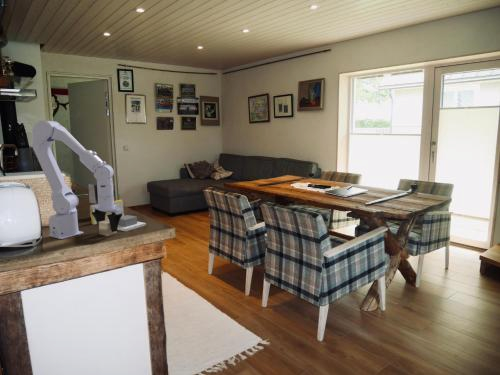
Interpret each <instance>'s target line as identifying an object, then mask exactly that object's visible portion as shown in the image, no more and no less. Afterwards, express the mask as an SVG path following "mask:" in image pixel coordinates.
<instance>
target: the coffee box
mask: <svg viewBox="0 0 500 375" xmlns="http://www.w3.org/2000/svg"><path fill="white" fill-rule="evenodd" d="M88 197H89V198H88V200H89V201H88V202H89V207H90V206H93V205H98V191H97V182H93V183H88ZM89 215H90V217H89V218H91V210H90V209H89Z"/></svg>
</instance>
